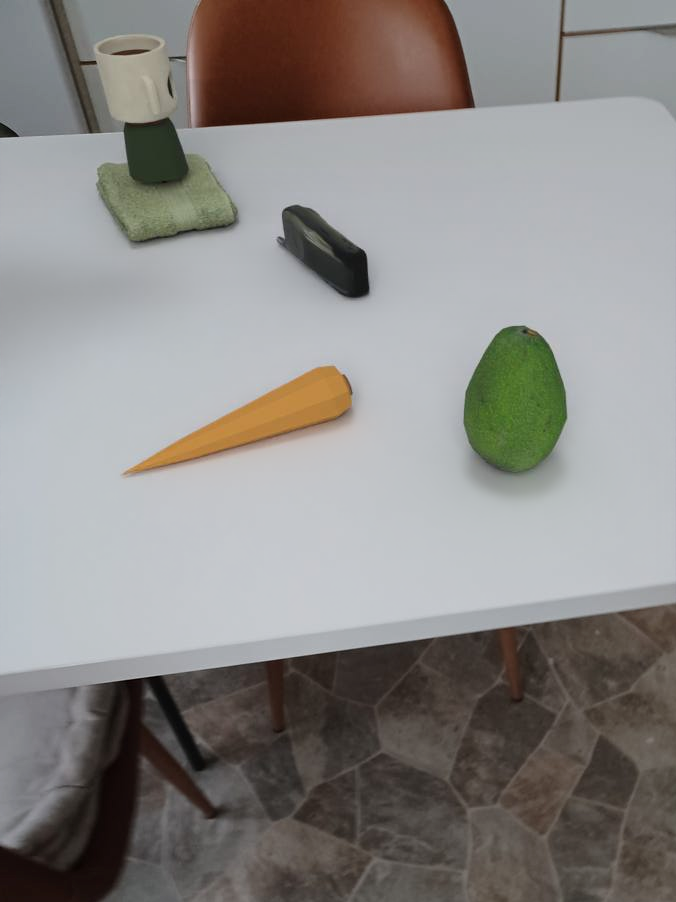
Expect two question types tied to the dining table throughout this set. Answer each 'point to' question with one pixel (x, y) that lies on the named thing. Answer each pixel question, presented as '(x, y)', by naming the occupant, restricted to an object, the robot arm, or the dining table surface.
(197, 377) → the dining table surface
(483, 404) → the avocado
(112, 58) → the character mug
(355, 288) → the black stapler
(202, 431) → the carrot
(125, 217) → the washcloth
